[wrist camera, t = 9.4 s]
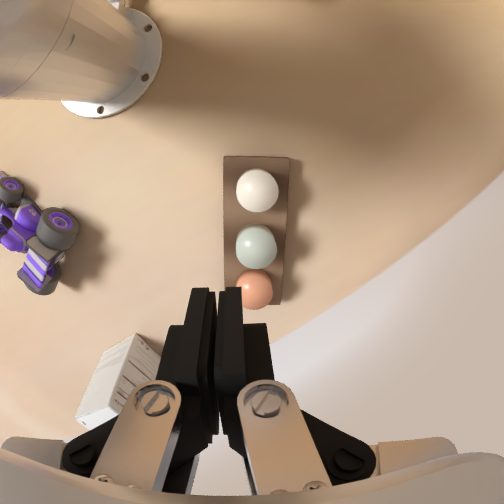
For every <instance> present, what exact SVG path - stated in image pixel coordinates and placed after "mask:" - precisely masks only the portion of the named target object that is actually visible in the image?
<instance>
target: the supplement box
mask: <svg viewBox="0 0 504 504" xmlns="http://www.w3.org/2000/svg"><path fill="white" fill-rule="evenodd" d="M160 359H161V357H160V356H159V355H158V354H157V353H156V352H155V351H154V350H153V349H152V348H151V347H150V346H149V345H148V344H147V343H146V342H145V341H144V340H143V339H142V338H141V337H140V336H139V335H138V334H136V333H135V334H133V335H132V336H130V337H128V338H126V339H125V340H123V341H121V342H120V343H118V344H116V345H115V346H113V347H111V348H109V349H108V350H106V351H104V353H103V355H102V357H101V359H100V361H99V364H98V366H97V368H96V370H95V372H94V374H93V377H92V379H91V381H90V383H89V385H88V388H87V390H86V392H85V395H84V397H83V399H82V402H81V404H80V406H79V409H78V411H77V413H76V416H75V419H76V420H77V421H78V422H79V423H81V424H82V425H83V426H84V427H86V428H87V429H88V430H92V429H94V428H95V427H97V426H99V425H101V424H103V423H105V422H106V421H108V420H110V419H112V418H114V417H115V416H117V415H119V414H120V412H121V410H122V408H123V406H124V404H125V402H126V400H127V398H128V396H129V394H130V393H131V392H132V390H133V389H134V388H135V387H137V386H138V385H139V384H142V383H144V382H146V381H152V380H155V379H156V375H157V371H158V367H159V363H160Z"/></svg>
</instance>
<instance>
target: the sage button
mask: <svg viewBox="0 0 504 504" xmlns="http://www.w3.org/2000/svg"><path fill="white" fill-rule="evenodd" d="M276 254H277V245H276V242H275V239H274V236H273V234H272V232H271V231H270V230H269V229H268V228H267V227H266V226H263V225H260V224H251V225H248V226H246V227H244V228H243V229H242V230H241V231H240V232H239V233H238V235H237V238H236V255H237V258H238V260H239V261H240V262H241V264H243V265H244V266H246V267H248V268H251V269H261V268H264V267H267V266H268V265H270V264H271V263H272V262H273V260H274V259H275V257H276Z"/></svg>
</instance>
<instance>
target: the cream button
mask: <svg viewBox="0 0 504 504" xmlns="http://www.w3.org/2000/svg"><path fill="white" fill-rule="evenodd" d="M278 194H279V189H278V185H277V183H276V181H275V179H274V178H273V177H272V175H271V174H270V173H269V172H267V171H266V170H263V169H260V168H253V169H249V170H247V171H245V172H244V173H243V174H242V175H241V176H240V177H239V179H238V182H237V187H236V195H237V199H238V201H239V203H240V204H241V205H242V206H243V207H244V208H245V209H246V210H249V211H251V212H263V211H266V210H268V209H270V208H271V207H272V206H273V205H274V204H275V202H276V201H277V198H278Z"/></svg>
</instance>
